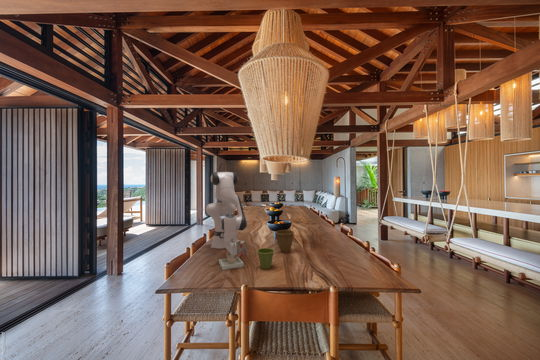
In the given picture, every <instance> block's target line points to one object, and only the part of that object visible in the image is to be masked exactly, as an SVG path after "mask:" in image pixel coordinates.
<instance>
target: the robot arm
mask: <svg viewBox="0 0 540 360" xmlns="http://www.w3.org/2000/svg"><path fill="white" fill-rule="evenodd" d="M238 175H239V174H238V173H237V172H235V171H234V172H232V171H231V172H230V171H217V172H216V171H214V172H212V173H211V176H210V182H211V184H212V185H213V186H215V193H214V194H215V195H214V196H215V198H216V199H217V200H218V201H221V202H212V203H208V204H207V205H206V208H205V212H206V214H207V215H208V216H210V217H211V218H212V220H213V222H214V232H213V234H214V236H213V238H211V244H210V248H211V249H219V250H220V249H225V250H226V249H227V250H228V253H230V254H231V260H233V259H234V255H236V254H237V246H236V243H235V241H237V240H238V231H244V230H245V229H247V228H248V227H247V226H248V223H247V222H248V221H247V220H246V216H245V212H244V209H243V205H242V201H241V198H240V196H239V195H237V193H236V192H235V185H237V184H238V182H239V176H238ZM236 210H237V211H236ZM235 212H237V215H235V214H234V213H235ZM221 216H224V218H222V217H221Z"/></svg>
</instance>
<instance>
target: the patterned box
mask: <svg viewBox="0 0 540 360" xmlns="http://www.w3.org/2000/svg"><path fill="white" fill-rule="evenodd" d="M235 243H236V246H237V254H236V255H235V257H239V258H240V257H241V256H242V255H244V254H245V253H247V252H246V240H241V239H237V241H235ZM225 252H226V253H225V254H226V256H225V257H226V258H227V253H228V250H227V249H226V248H225Z"/></svg>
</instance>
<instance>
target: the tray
mask: <svg viewBox="0 0 540 360" xmlns="http://www.w3.org/2000/svg"><path fill="white" fill-rule="evenodd" d="M218 264H220V265H219V266H220V269H221V270H222V271H228V270H234V269H240V268H244V267H245V265H244V264H245V263H244V262H243V260H242V259H241V258H240V257H235V262H229V263H228V262H227V258H220V259H218Z"/></svg>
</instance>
